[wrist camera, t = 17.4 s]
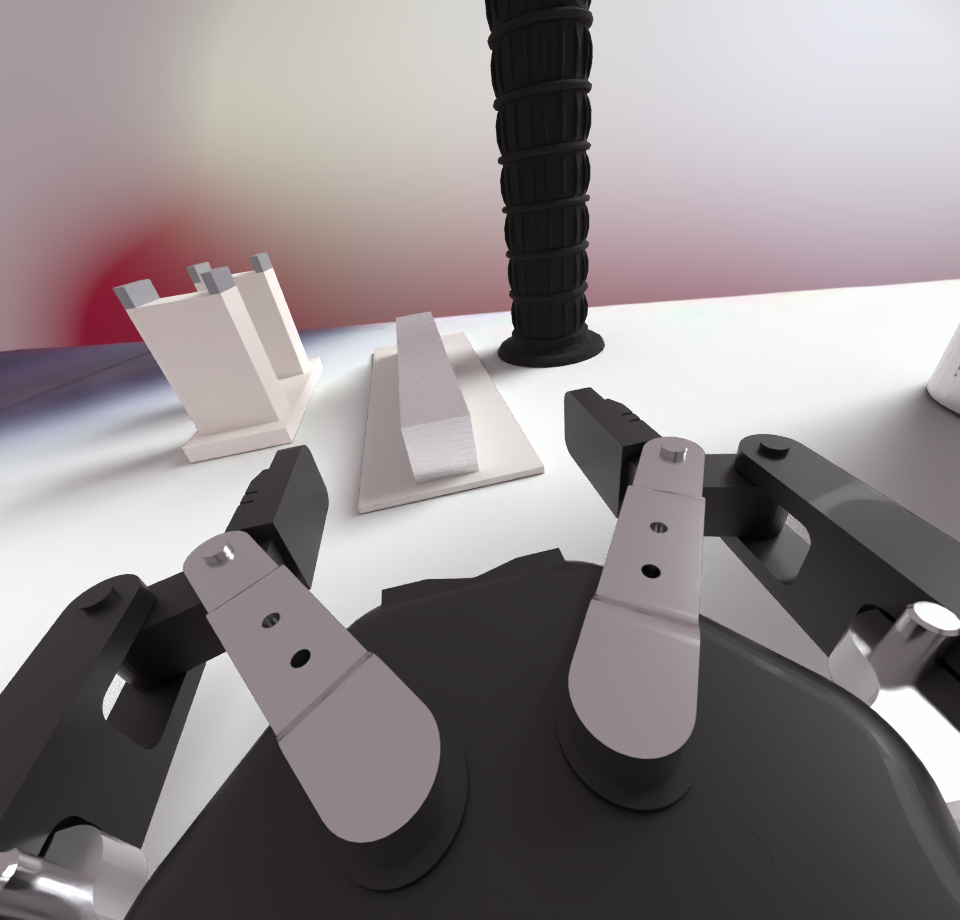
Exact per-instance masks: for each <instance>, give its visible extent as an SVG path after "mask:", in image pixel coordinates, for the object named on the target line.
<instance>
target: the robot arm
mask: <svg viewBox="0 0 960 920" xmlns="http://www.w3.org/2000/svg"><path fill="white" fill-rule="evenodd" d="M927 390H928V392H929V393H930V395H931V397H932V398H934V399H935V400H936V401H937V402H939V403H940V404H941V405H943V406H945V407H947V408H949V409H950V410H952V411H954V412H956V413H958V414H960V324H959V326H958V327H957V329H956V331H955V333H954V335H953V337H952V339H951V341H950V343H949V344H948V346H947V348H946V350H945V352H944V354H943V356H942V358H941V360H940V362H939V363H938V365H937V367H936V369H935V371H934V373H933V375H932V377H931V379H930V380H929V382H928V387H927ZM564 418H565V442H566V446H567V449H568V451H569V453H570V455H571V456H572V458H573V459H574V460H575V462H576V463H577V465H578V466H579V467H580V469H581V470H582V471H583V473H584V474H585V476H586V477H587V478H588V480H589V481H590V482H591V484H592V485H593V486H594V488H595V489H596V491H597V492H598V493H599V495H600V496H601V497H602V499H603V500H604V502H605V503H606V504H607V506H608V507H609V508H610V510H611V511H612V512H613V514H614V515H615V517H616V518H618V521H617V525H616V528H615V531H614V535H613V538H612V541H611V545H610V548H609V551H608V555H607V558H606V562H605V565H604V567H603V566H600V565H597V564H593V563H588V562H582V561H565V560H564V558H563V556H562V554H561V551H560V549H559V548H556V549H552V550H548V551H543V552H539V553H535V554H531V555H527V556H522V557H518V558H515V559H513V560H511V561H509V562H507V563H505V564H503V565H501V566H498V567H496V568H494V569H492V570H490V571H488V572H486V573H484V574H482V575H479V576H477V577H474V578H458V579H426V580H422V581H418V582H413V583H409V584H405V585H401V586H397V587H392V588H388V589H384V590H382V604H381V605H380V606H378V607H376V608H375V609H373V610H371V611H369V612H368V613H366V614H365V615H363V616H362V617H360V618H359V619H358V620H356V621H355V622H354V623H353V624H352V625H351V626H349V627H348V628H347V629H345V627H344V626H343V625H342V624H341V623H340V622H339V621H338V620H337V619H336V618H335V617H334V616H333V615H332V614H331V613H330V612H329V611H328V610H327V609H326V608H325V607H324V606H323V605H322V604H321V603H320V602H319V600H318V599H317V598H316V597H315V596H314V595H313V594H312V593H311V592H310V591H309V590H310V589H311V585H312V581H313V576H314V571H315V567H316V562H317V557H318V553H319V548H320V543H321V539H322V534H323V529H324V525H325V520H326V515H327V511H328V506H329V500H328V493H327V489H326V487H325V484H324V482H323V480H322V477H321V475H320V473H319V470H318V468H317V466H316V463H315V461H314V459H313V457H312V454H311V452H310V450H309V449H308V447H307V446H306V445H302V446H297V447H292V448H287V449H282V450H278V451H277V453H276V455H275V457H274V459H273V461H272V463H271V466H270V468H269V469H265V470H263V471H262V472H261V473H260V474H259V475H258V476H256V477H255V478H254V479H253V480H252V481H251V483H250V484H249V486H248V488H247V490H246V492H245V495H244V496H243V498H242V500H241V502H240V505H239V506H238V508H237V510H236V511H235V513H234V515H233V517H232V519H231V521H230V523H229V525H228V527H227V529H226V531H225V533H223V534H220V535H217V536H215V537H213V538H211V539H209V540H207V541H206V542H204V543H202V544H201V545H200V546H198V547H197V548H196V549H195V550H194V551H193V552H192V553H191V554H190V555H189V556H188V557H187V559H186V560H185V562H184V565H183V572H181V573H178V574H176V575H174V576H171V577H169V578H166V579H164V580H162V581H159V582H157V583H155V584H152V585H150V586H148V587H147V586H146V585H145V584H144V582H143V581H142V580H141V579H140V578H139V577H138V576H136V575H133V574H124V575H119V576H115V577H112V578H109V579H107V580H104V581H102V582H100V583H98V584H96V585H95V586H93V587H91V588H90V589H88V590H86V591H85V592H83V593H82V594H81V595H79V596H78V597H77V598H76V599H74V600H73V601H72V602H71V603H70V604H69V605H68V606H67V607H66V608H65V610H64V611H63V612H62V613H61V615H60V616H59V617H58V619H57V620H56V621H55V623H54V624H53V625H52V627H51V628H50V629H49V631H48V632H47V633H46V635H45V636H44V637H43V639H42V640H41V641H40V643H39V644H38V645H37V647H36V648H35V649H34V650H33V652H32V653H31V654H30V656H29V657H28V658H27V660H26V661H25V662H24V664H23V665H22V666H21V668H20V669H19V670H18V672H17V673H16V674H15V676H14V677H13V678H12V680H11V681H10V682H9V684H8V685H7V686H6V688H5V689H4V690H3V691H2V693H1V694H0V920H960V832H959V830H958V828H957V826H956V824H955V821H954V819H957V818H960V543H959V542H958V541H956V540H955V539H953V538H951V537H950V536H948V535H947V534H945V533H943V532H942V531H940V530H939V529H937V528H935V527H934V526H932V525H931V524H929V523H927V522H926V521H924V520H923V519H921V518H919V517H918V516H916V515H915V514H913V513H911V512H910V511H908V510H907V509H905V508H903V507H902V506H900V505H899V504H897V503H895V502H894V501H892V500H891V499H889V498H887V497H886V496H884V495H883V494H881V493H879V492H878V491H876V490H875V489H873V488H871V487H870V486H868V485H867V484H865V483H863V482H862V481H860V480H859V479H857V478H855V477H854V476H852V475H851V474H849V473H847V472H846V471H844V470H843V469H841V468H839V467H838V466H836V465H835V464H833V463H831V462H830V461H828V460H827V459H825V458H823V457H822V456H820V455H819V454H817V453H815V452H814V451H812V450H811V449H809V448H807V447H806V446H804V445H803V444H801V443H799V442H797V441H795V440H792V439H789V438H786V437H782V436H777V435H770V434H758V435H751V436H748V437H745V438H744V439H742V440H741V441H740V444H739V447H738V451H737V454H705V452H704V450H703V449H702V448H701V447H700V446H699V445H698V444H696V443H694V442H692V441H689V440H686V439H683V438H677V437H662V436H660V435H659V434H658V433H657V432H656V431H655V430H653V429H652V428H651V427H650V426H649V425H647V424H646V423H645V422H644V421H643V420H640V418H639V417H638V416H637V415H635V414H633V413H632V411H631V410H629V409H628V408H627V407H626V406H625V405H623V404H621V403H619V402H616V401H613V400H611V399H605V400H604V399H603V398H602V397H601V396H600V395H599V394H598V393H597V392H595V391H594V390H593V389H592V388H590V387H588V388H583V389H579V390H574V391H569V392H566V394H565V397H564ZM788 513H790V514H791V515H792V516H793V517H795V518H796V519H797V520H798V521H799V522H801V523H802V524H803V525H804V526H805V528H806V529H807V531H808V533H809V535H810V539H811V546H810V545H809V544H807V543H806V542H805V541H804V540H803V539H802V538H801V537H799V536H798V535H797V534H796V533H795V532H794V531H793V530H791V529H790V528H789V527H788V526H787V525H786V524H785V521H786V518H787V516H788ZM703 536H716V537H720V538H721V539H722V540H723V541H724V542H725V543H726V545H727V546H728V547H729V548H730V549H731V550H732V551H733V552H734V553H735V554H736V556H737V557H738V558H739V559H740V560H741V561H742V562H743V563H744V564H745V566H746V567H747V568H748V569H749V570H750V571H751V572H752V573H753V574H754V576H755V577H756V578H757V579H758V580H759V581H760V582H761V583H762V584H763V585H764V587H765V588H766V589H767V590H768V591H769V592H770V593H771V594H772V595H773V597H774V598H775V599H776V600H777V601H778V602H779V603H780V604H781V605H782V607H783V608H784V609H785V610H786V611H787V612H788V613H789V614H790V615H791V616H792V618H793V619H794V620H795V621H796V622H797V623H798V624H799V625H800V626H801V628H802V629H803V630H804V631H805V632H806V633H807V634H808V635H809V636H810V638H811V639H812V640H813V641H814V642H815V643H816V644H817V645H818V646H819V647H820V649H821V650H822V651H823V652H824V653H825V654H826V655H827V656H828V657H829V660H828V668H829V672H830V675H831V677H832V679H833V681H834V682H835V683H834V682H832V681H830V680H829V679H827V678H825V677H823V676H821V675H819V674H817V673H815V672H813V671H811V670H809V669H807V668H805V667H803V666H801V665H799V664H797V663H795V662H793V661H791V660H789V659H787V658H785V657H784V656H782V655H780V654H778V653H776V652H774V651H772V650H770V649H768V648H766V647H764V646H762V645H760V644H758V643H756V642H754V641H752V640H750V639H748V638H746V637H744V636H742V635H740V634H738V633H736V632H734V631H732V630H730V629H728V628H726V627H725V626H723V625H721V624H719V623H717V622H715V621H713V620H711V619H709V618H707V617H705V616H703V615H701V614H699V600H700V584H701V567H702V550H703ZM226 651H227V653H228V655H229V656H230V658H231V660H232V661H233V663H234V665H235V667H236V668H237V670H238V672H239V673H240V675H241V677H242V678H243V680H244V682H245V683H246V685H247V687H248V688H249V690H250V692H251V694H252V695H253V697H254V699H255V700H256V702H257V704H258V705H259V707H260V709H261V710H262V712H263V714H264V716H265V717H266V719H267V721H268V722H269V724H270V725H269V726H268V727H267V729H266V730H265V731H264V733H263V734H262V735H261V736H260V738H259V739H258V740H257V741H256V743H255V744H254V745H253V747H252V748H251V749H250V750H249V752H248V753H247V754H246V756H245V757H244V758H243V759H242V761H241V762H240V763H239V764H238V766H237V767H236V768H235V770H234V771H233V772H232V773H231V775H230V776H229V777H228V779H227V780H226V781H225V782H224V784H223V785H222V786H221V787H220V789H219V790H218V791H217V793H216V794H215V795H214V796H213V798H212V799H211V800H210V802H209V803H208V804H207V805H206V807H205V808H204V809H203V810H202V812H201V813H200V814H199V816H198V817H197V818H196V819H195V821H194V822H193V823H192V824H191V826H190V827H189V828H188V830H187V831H186V832H185V833H184V835H183V836H182V837H181V839H180V840H179V841H178V842H177V844H176V845H175V846H174V847H173V849H172V850H171V851H170V853H169V854H168V855H167V856H166V858H165V859H164V860H163V862H162V863H161V864H160V865H159V867H158V868H157V869H156V871H155V872H154V873H153V875H152V876H151V877H150V879H149V880H148V882H147V877H148V863H147V859H146V856H145V854H144V853H143V852H142V850H141V847H142V845H143V842H144V839H145V836H146V833H147V830H148V827H149V825H150V822H151V819H152V816H153V813H154V810H155V807H156V805H157V802H158V799H159V796H160V793H161V790H162V787H163V785H164V782H165V779H166V776H167V773H168V770H169V767H170V765H171V762H172V759H173V756H174V753H175V750H176V747H177V745H178V742H179V739H180V736H181V733H182V730H183V727H184V725H185V722H186V719H187V716H188V713H189V710H190V707H191V705H192V702H193V699H194V696H195V693H196V690H197V687H198V685H199V682H200V679H201V676H202V673H203V670H204V667H205V665H206V661H208V660H210V659H212V658H214V657H216V656H218V655H220V654H222V653H224V652H226ZM116 673H117V674H118V675H119V676H120V677H121V678H123V679H124V680H125V681H126V683H125V685H124V687H123V688H122V690H121V692H120V694H119V696H118V698H117V700H116V702H115V704H114V706H113V708H112V710H111V712H110V714H109V716H108V718H107V720H105V718H104V716H103V710H102V705H103V699H104V696H105V694H106V692H107V690H108V688H109V686H110V684H111V682H112V680H113V679H114V677H115V675H116Z"/></svg>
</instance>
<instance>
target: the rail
mask: <svg viewBox="0 0 960 920" xmlns="http://www.w3.org/2000/svg"><path fill="white" fill-rule="evenodd" d="M396 330H397V353H398V375H399V398H400V421H401V431H402V434H403V438H404V442H405V445H406V449H407V453H408V456H409V460H410V463H411V467H412V471H413V474H414V478H415V481H416V485H417V484H421V483H426V482H431V481H435V480H440V479H444V478H449V477H453V476H458V475H463V474H467V473H472V472H476V471H479V465H478V459H477V453H476V447H475V441H474V435H473V429H472V422H471V416H470V412H469V410H468V407H467V405H466V402H465V399H464V397H463V394H462V392H461V389H460V387H459V384H458V381H457V379H456V376H455V374H454V371H453V368H452V366H451V363H450V361H449V358H448V355H447V353H446V350H445V348H444V345H443V342H442V340H441V337H440V335H439V332H438V329H437V327H436V324H435V322H434V319H433V316H432V314H431V312H425V313H420V314H414V315H409V316H403V317H398V318H396Z"/></svg>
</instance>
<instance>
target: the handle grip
mask: <svg viewBox="0 0 960 920" xmlns="http://www.w3.org/2000/svg"><path fill="white" fill-rule="evenodd" d="M590 4H591V0H485V5H486V17H487V21H488V24H489V28H490V31H491V34H490V36H489V38H488V41H487V42H488V45H489V47H490V49H491V50H492V57H491V65H490V66H491V77H492V86H493V89H494V92H495V96H496V98H497V99H496V100H495V101H494V104H493V108H494V109H495V110H496V111H498V114H497V120H496V136H497V144H498V147H499V150H500V153H501V155H502V156H501V157H499V159H498V163H499V164H503V168H502V172H501V179H500V184H501V194H502V197H503V201H504V203H505V205H506V207H503V209H502V211H503V213H507V216H506V220H505V227H504V232H505V241H506V244H507V247H508V249H509V251H507V253H506V257H508V258H510V260H509V264H508V279H509V284H510V287H511V289H512V290H511V291H510V293H509V296H510V297H511V298H512V299H513V303H512V308H511V315H512V323H513V326H514V330H513V332H512V337H510V338H508V339H507V340H505V341H504V342H503V343H502V344H501V346H500V348H499V350H498V356H499V357H500V359H501V360H503V361H505V362H507V363H510V364H513V365H517V366H525V367H554V366H562V365H567V364H572V363H577V362H580V361H583V360H586V359H589V358H591V357H593V356H595V355H597V354H598V353H600V352H601V351H602V350H603V348H604V346H605V344H604V341H603V339H602V337H601V336H600V335H599V334H597V333H595V332H593V331H591V330H588V326H587V324H586V323H585V320H586V317H587V313H588V303H587V300H586V296H585V295H584V292H585V291H586V289H587V288H588V284H587V283H586V282H585V280H586V278H587V274H588V256H587V253H586V251H585V249H586V248H587V247H588V246H589V243H588V241H586V238H587V234H588V230H589V213H588V209H587V206H586V204H585V202H586V201H589V199H590V196H589V195H585V194H586V192H587V189H588V186H589V181H590V163H589V158H588V156H587V154H586V150H588V149H590V146H591V144H590V143H589V142H586V140H587V138H588V135H589V131H590V127H591V106H590V101H589V98H588V96H587V93H589V92H590V90H591V88H592V84H591V83H590V82H589V81H588V78H589V75H590V70H591V66H592V58H593V55H592V54H593V53H592V51H593V45H592V40H591V35H590V32H589V30H588V29H589V28H590V27H591V25H592V22H593V16H592V13H591V12H590V11H589V7H590Z"/></svg>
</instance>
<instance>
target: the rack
mask: <svg viewBox="0 0 960 920" xmlns="http://www.w3.org/2000/svg"><path fill="white" fill-rule="evenodd" d="M250 259H251V262H252V264H253V267H254V269H255V271H249V272H243V273H237V274H231V273H230V270H229V268H228V266H225V267H220V268H216V269H213V270H212V269H211V267H210V265H209V263H208V262H206V263H200V264H196V265H193V266H189V267H187V268H186V269H187V271H188V273H189V275H190V277H191V279H192V281H193V282H194V285H195V287H196V289H197V291H198V292H196V293H190V294H185V295H178V296H173V297H166V298H159V296H158V294H157V292H156V290H155V289H154V287H153V285H152V283H151V281H150V279H146V280H141V281H136V282H133V283H129V284H126V285H122V286H119V287H115V288H113V290H114V292H115V293H116V295H117V297H118V298H119V300H120V302H121V303H122V305H123V307H124V308H125V310H126V311H127V313H128V315H129V316H130V318H131V320H132V321H133V323H134V325H135V326H136V328H137V330H138V331H139V333H140V335H141V336H142V338H143V340H144V341H145V343H146V345H147V346H148V348H149V350H150V351H151V353H152V355H153V356H154V358H155V360H156V361H157V363H158V365H159V366H160V368H161V370H162V371H163V373H164V375H165V376H166V378H167V379H168V381H169V383H170V384H171V386H172V388H173V389H174V391H175V393H176V394H177V396H178V398H179V399H180V401H181V403H182V404H183V406H184V408H185V409H186V411H187V413H188V414H189V416H190V418H191V419H192V421H193V423H194V424H195V426H196V428H197V429H198V431H197V432H196V433H195V434H194V435H193V436H192V438H191V439H190V440H189V441H188V442H187V443H186V444H185V446H184V447H183V448H182V450H183V451H184V453H185V455H186V456H187V458H188V459H189V461H190V462H191V463H194V462H199V461H204V460H209V459H214V458H218V457H223V456H228V455H233V454H238V453H243V452H248V451H252V450H257V449H262V448H267V447H272V446H277V445H282V444H286V443H291V442H292V441H293V439H294V437H295V434H296V432H297V430H298V427H299V425H300V422H301V420H302V418H303V415H304V413H305V410H306V408H307V406H308V403H309V401H310V398H311V396H312V394H313V391H314V389H315V386H316V384H317V382H318V379H319V377H320V374H321V372H322V370H323V367H322V364H321V361H320V358H319V357H318V358H312V359H307V356H306V353H305V351H304V348H303V346H302V343H301V340H300V338H299V335H298V332H297V330H296V327H295V325H294V322H293V319H292V317H291V314H290V312H289V309H288V306H287V304H286V301H285V299H284V296H283V293H282V291H281V288H280V286H279V283H278V280H277V278H276V275H275V273H274V270H273V267H272V265H271V262H270V260H269V257H268V254H267V253H260V254H257V255H254V256H251V257H250Z"/></svg>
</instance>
